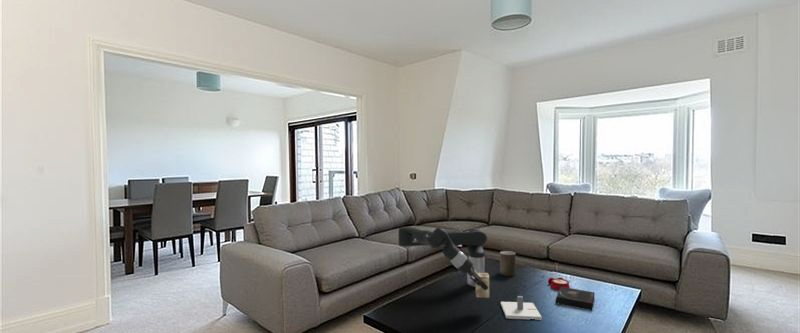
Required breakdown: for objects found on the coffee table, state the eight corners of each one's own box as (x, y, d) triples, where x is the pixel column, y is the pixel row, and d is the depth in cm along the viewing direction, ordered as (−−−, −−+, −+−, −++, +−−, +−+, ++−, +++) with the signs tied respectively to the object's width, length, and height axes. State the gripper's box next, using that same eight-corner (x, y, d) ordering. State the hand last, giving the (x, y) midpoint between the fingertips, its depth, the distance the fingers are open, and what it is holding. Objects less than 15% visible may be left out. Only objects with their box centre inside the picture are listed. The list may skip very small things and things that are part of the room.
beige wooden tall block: (476, 297, 176) (476, 276, 176) (475, 292, 182) (475, 272, 182) (489, 297, 175) (489, 276, 175) (487, 292, 181) (487, 272, 181)
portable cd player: (559, 293, 203) (559, 286, 203) (594, 299, 194) (594, 292, 194) (555, 304, 189) (555, 296, 189) (592, 311, 180) (592, 303, 180)
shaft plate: (506, 318, 171) (506, 302, 171) (500, 304, 187) (500, 290, 187) (541, 320, 170) (541, 304, 169) (532, 305, 186) (533, 291, 185)
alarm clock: (556, 285, 204) (545, 271, 218) (555, 295, 206) (544, 280, 220) (574, 285, 204) (562, 271, 219) (573, 295, 206) (560, 280, 220)
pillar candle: (516, 276, 229) (516, 253, 229) (500, 275, 231) (500, 252, 231) (514, 272, 239) (515, 249, 239) (499, 271, 241) (499, 248, 241)
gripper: (455, 262, 187) (479, 286, 186) (456, 271, 173) (481, 297, 172) (465, 252, 186) (489, 276, 185) (467, 261, 172) (493, 286, 171)
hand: (485, 286), depth 178 cm, fingers closed on beige wooden tall block, 6 cm apart
